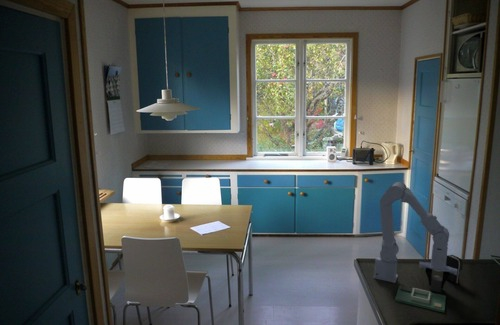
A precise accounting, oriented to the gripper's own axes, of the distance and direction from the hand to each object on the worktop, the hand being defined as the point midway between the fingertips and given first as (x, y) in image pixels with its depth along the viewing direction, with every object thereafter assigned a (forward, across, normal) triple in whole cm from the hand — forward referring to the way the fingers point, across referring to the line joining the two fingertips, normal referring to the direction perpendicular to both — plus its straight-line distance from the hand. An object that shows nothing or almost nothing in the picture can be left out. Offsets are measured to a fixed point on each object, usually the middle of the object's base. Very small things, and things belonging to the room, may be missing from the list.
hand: (436, 286), depth 169 cm
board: (+1, -5, -12) cm, 13 cm away
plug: (+1, 0, 0) cm, 1 cm away
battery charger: (+2, +6, +12) cm, 14 cm away
